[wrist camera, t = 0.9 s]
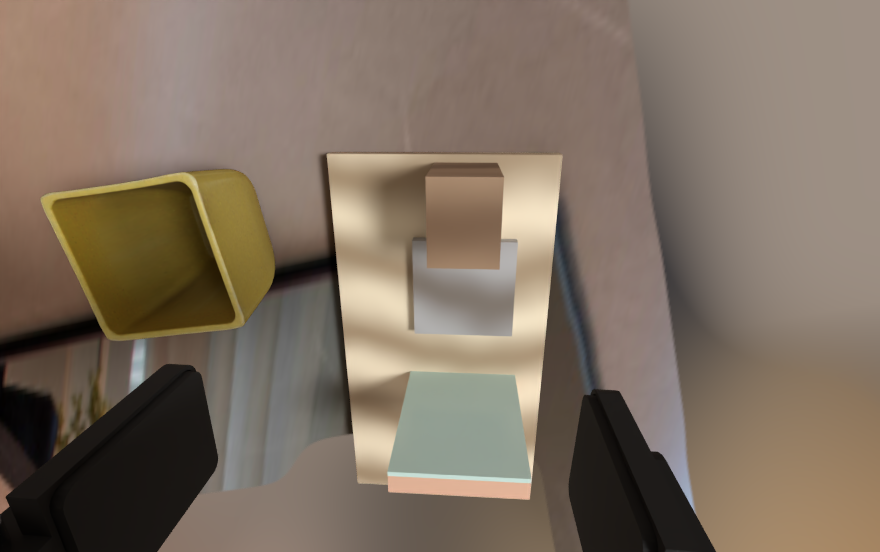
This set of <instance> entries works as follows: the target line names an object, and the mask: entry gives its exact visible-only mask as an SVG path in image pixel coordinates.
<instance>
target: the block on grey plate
mask: <svg viewBox="0 0 880 552" xmlns="http://www.w3.org/2000/svg"><path fill="white" fill-rule="evenodd" d="M425 179H426V238H422V237H413V240H412V259H413V294H414V330H415V334H447V335H480V336H512V328H513V313H514V297H515V281H516V265H517V250H518V241H517V239H501V230H502V210H503V189H504V176H503V174H502V171H501V169H500V167H499V165H498V163H449V162H435V163H434V164H433V166H432V167H431V169H430V171H429V172H428V174H427V175H426V177H425Z"/></svg>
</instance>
